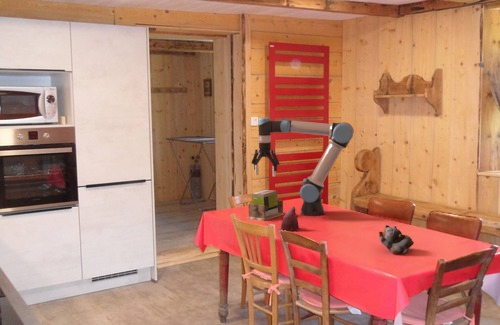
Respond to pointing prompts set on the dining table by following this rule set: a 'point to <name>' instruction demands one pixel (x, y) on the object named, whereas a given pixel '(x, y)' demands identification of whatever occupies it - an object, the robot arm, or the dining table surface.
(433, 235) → the dining table surface
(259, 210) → the holder stand
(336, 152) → the robot arm
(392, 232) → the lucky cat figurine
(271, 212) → the tea box
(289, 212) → the vegetable
